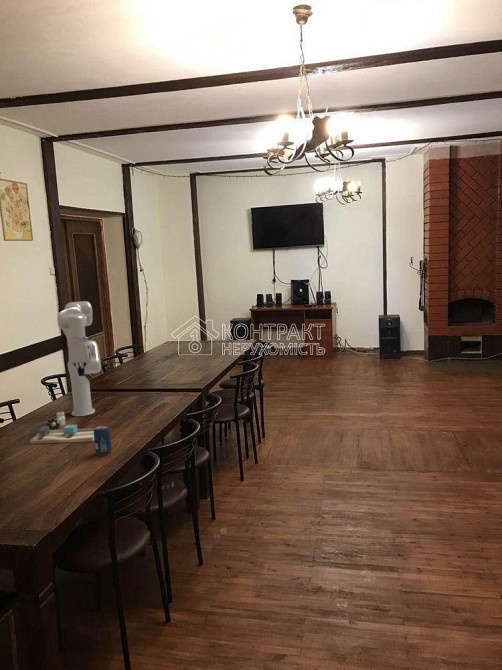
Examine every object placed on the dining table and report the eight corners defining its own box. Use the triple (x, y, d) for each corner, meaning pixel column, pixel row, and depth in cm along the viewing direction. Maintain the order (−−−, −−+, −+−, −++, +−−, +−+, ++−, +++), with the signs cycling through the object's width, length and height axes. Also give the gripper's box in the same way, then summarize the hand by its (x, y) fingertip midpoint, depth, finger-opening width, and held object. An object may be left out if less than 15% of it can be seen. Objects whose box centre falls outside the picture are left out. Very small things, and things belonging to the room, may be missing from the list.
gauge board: (40, 435, 266) (39, 425, 266) (100, 432, 265) (99, 423, 265) (30, 443, 254) (28, 433, 254) (92, 441, 254) (91, 431, 253)
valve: (57, 423, 284) (47, 431, 272) (56, 411, 283) (45, 418, 271) (69, 423, 284) (59, 430, 272) (68, 411, 283) (58, 418, 271)
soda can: (105, 449, 242) (103, 423, 241) (115, 452, 238) (112, 426, 236) (92, 454, 237) (89, 428, 235) (101, 457, 233) (99, 430, 231)
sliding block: (67, 431, 264) (66, 425, 263) (77, 431, 264) (76, 424, 263) (61, 437, 256) (60, 430, 255) (71, 437, 256) (71, 429, 255)
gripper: (95, 338, 272) (98, 373, 275) (65, 339, 272) (69, 374, 275) (90, 340, 265) (93, 376, 268) (60, 341, 265) (64, 378, 268)
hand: (81, 375), depth 271 cm, fingers closed
